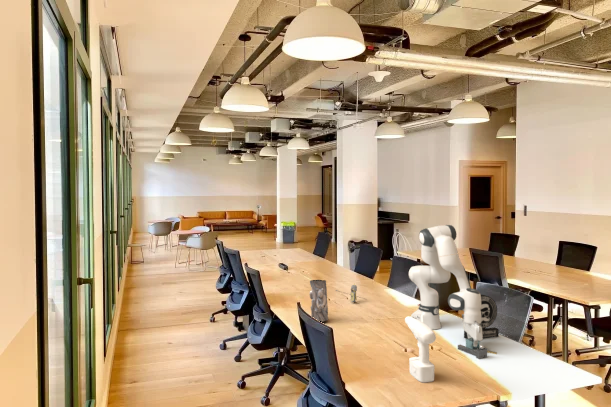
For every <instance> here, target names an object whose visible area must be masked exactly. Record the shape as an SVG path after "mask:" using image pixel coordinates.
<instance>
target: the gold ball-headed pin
mask: <svg viewBox="0 0 611 407" xmlns="http://www.w3.org/2000/svg"><path fill="white" fill-rule="evenodd" d="M487 354H494V355H497V354H498V352H496V351H491V350H488V349H487Z"/></svg>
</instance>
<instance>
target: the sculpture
mask: <svg viewBox="0 0 611 407" xmlns="http://www.w3.org/2000/svg"><path fill="white" fill-rule="evenodd" d="M309 285H310V288H311V290H310V291H309V298H310V299H311V305H310V311H311V318H312V317H314V318H315V319H317V320H318V321H321V322H322V323H323V322H325V321H329V306H328V295H327V294H328V293H327V289H328V288H327V287H328V286H327V280H325V279H324V280H323V279H312V280H311V279H310V280H309ZM321 322H320V323H321Z"/></svg>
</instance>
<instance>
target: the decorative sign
mask: <svg viewBox="0 0 611 407" xmlns="http://www.w3.org/2000/svg"><path fill="white" fill-rule="evenodd" d="M480 295H481V323H480V326H481V327H482V335H483V339H489V338H497V337H500V336H499V335H500V334H499V333H500V332H499V328H498V327H496V326H495V327H490V326H492V325H493V323H494V322H495V321H496V319H497V317H498V316H497V315H498V306H497V303H496V300H494V299H493V298H492V297H490V296H489V295H485V294H480ZM463 339H465V340H466V339H468V336H467V332H466V331H464V330H463Z"/></svg>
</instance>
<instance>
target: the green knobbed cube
mask: <svg viewBox="0 0 611 407" xmlns="http://www.w3.org/2000/svg"><path fill="white" fill-rule="evenodd" d="M473 343H474V339H473V338H469V339H465V346H466V347H468V348H471V349H474V348H475V349H477V348H478V349H480V343H481V341H478V343H477V347H474V346H473Z"/></svg>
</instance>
